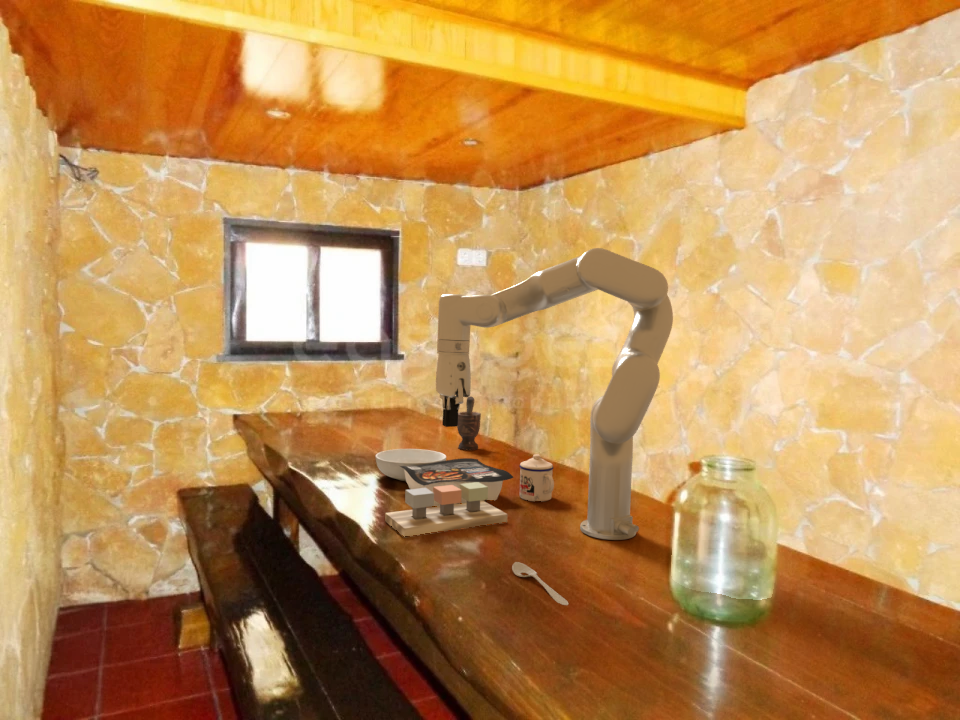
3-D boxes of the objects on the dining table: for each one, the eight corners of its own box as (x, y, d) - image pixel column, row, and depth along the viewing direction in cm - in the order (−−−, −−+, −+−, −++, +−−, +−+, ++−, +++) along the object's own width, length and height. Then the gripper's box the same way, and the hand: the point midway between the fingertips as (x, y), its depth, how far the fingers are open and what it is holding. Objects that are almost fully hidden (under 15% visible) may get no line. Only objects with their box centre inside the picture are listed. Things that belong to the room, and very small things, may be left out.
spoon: (524, 568, 128) (524, 559, 128) (586, 612, 110) (586, 602, 110) (506, 571, 126) (506, 563, 126) (565, 616, 108) (566, 607, 108)
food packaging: (424, 482, 161) (395, 463, 181) (423, 512, 161) (395, 489, 182) (513, 474, 172) (477, 457, 192) (513, 503, 172) (476, 482, 192)
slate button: (433, 518, 149) (434, 493, 149) (413, 520, 147) (413, 495, 147) (424, 511, 154) (425, 487, 153) (404, 514, 152) (405, 489, 151)
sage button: (487, 510, 156) (487, 486, 156) (468, 513, 154) (469, 489, 153) (477, 505, 160) (478, 481, 160) (459, 507, 158) (459, 483, 158)
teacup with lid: (512, 495, 178) (513, 453, 178) (539, 491, 183) (540, 450, 182) (537, 506, 168) (539, 462, 167) (565, 502, 173) (567, 459, 172)
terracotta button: (460, 514, 153) (461, 489, 152) (441, 517, 150) (442, 492, 150) (451, 508, 157) (452, 484, 157) (432, 511, 155) (433, 486, 154)
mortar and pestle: (487, 452, 234) (488, 396, 233) (465, 453, 230) (466, 397, 229) (474, 445, 245) (475, 392, 243) (452, 447, 241) (453, 393, 240)
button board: (507, 522, 155) (507, 514, 155) (404, 537, 143) (404, 528, 142) (483, 508, 165) (483, 500, 165) (385, 521, 153) (385, 512, 153)
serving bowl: (455, 484, 189) (456, 460, 188) (384, 489, 181) (384, 464, 181) (433, 467, 208) (434, 446, 208) (368, 472, 200) (368, 449, 200)
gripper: (482, 350, 147) (478, 431, 148) (454, 345, 160) (451, 420, 161) (452, 349, 143) (448, 432, 145) (425, 345, 156) (422, 421, 158)
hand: (450, 425), depth 153 cm, fingers closed
